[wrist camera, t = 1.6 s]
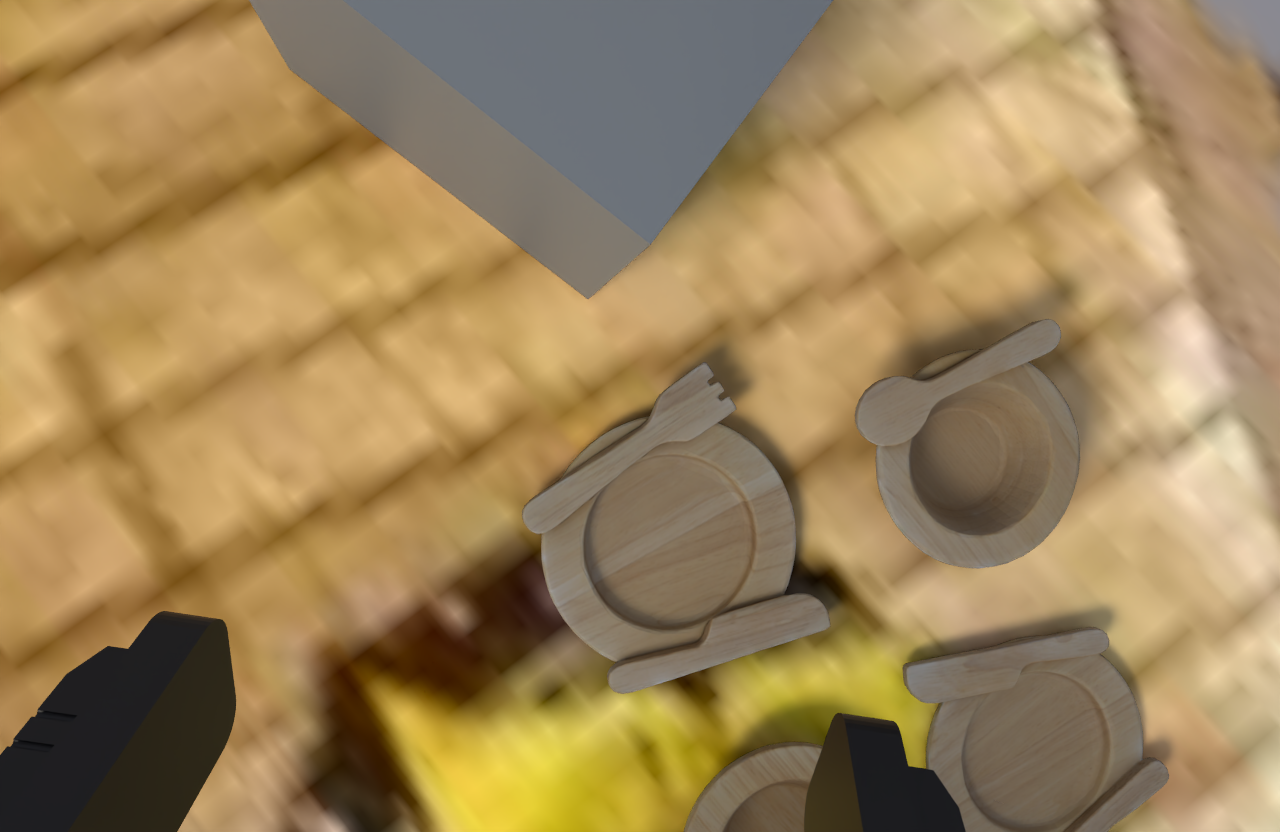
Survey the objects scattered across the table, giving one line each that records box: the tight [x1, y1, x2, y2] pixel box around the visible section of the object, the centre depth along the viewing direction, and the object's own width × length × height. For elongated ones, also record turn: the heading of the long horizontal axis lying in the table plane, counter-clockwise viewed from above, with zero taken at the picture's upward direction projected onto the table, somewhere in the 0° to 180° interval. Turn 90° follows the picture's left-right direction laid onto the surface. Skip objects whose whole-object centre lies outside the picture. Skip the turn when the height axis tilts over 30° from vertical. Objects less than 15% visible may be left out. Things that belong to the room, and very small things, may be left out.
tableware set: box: [522, 319, 1169, 832], centre depth 48 cm, size 35×29×4 cm
